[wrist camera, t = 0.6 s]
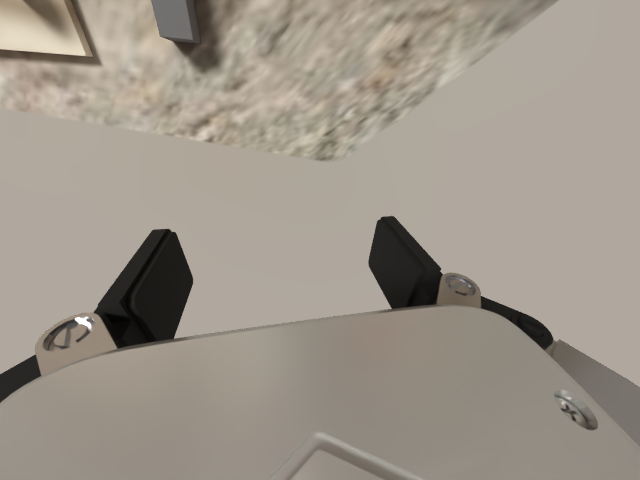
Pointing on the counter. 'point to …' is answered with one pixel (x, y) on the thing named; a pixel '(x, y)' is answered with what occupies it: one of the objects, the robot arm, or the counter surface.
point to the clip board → (42, 27)
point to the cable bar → (177, 20)
